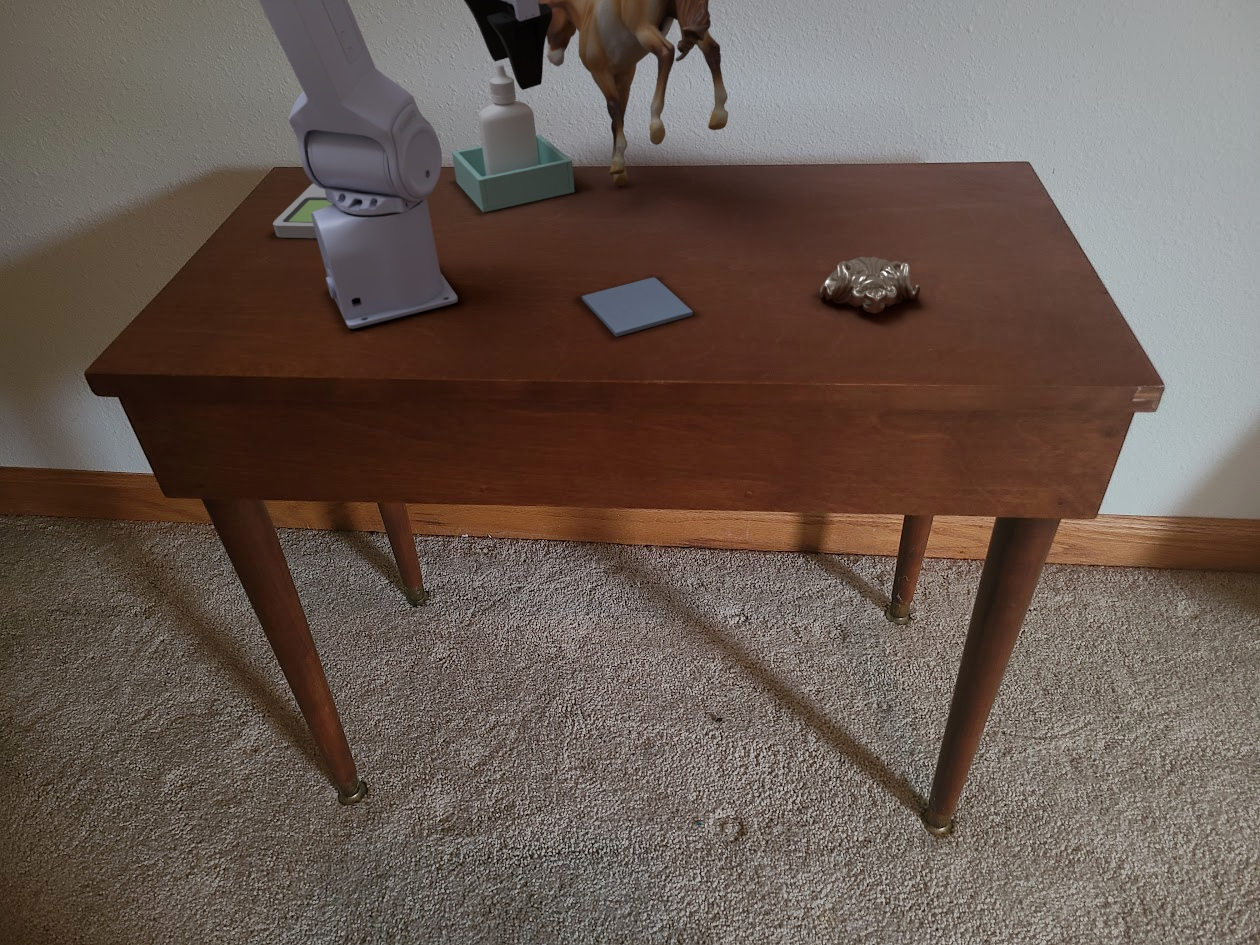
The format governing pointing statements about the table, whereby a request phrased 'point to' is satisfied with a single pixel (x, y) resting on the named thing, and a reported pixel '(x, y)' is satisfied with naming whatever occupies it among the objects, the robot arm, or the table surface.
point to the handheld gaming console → (301, 214)
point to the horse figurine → (634, 54)
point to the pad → (636, 306)
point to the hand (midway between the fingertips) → (516, 71)
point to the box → (514, 178)
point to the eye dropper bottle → (507, 129)
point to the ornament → (869, 283)
